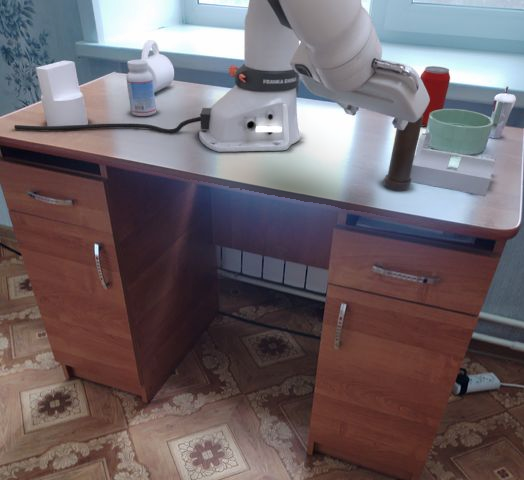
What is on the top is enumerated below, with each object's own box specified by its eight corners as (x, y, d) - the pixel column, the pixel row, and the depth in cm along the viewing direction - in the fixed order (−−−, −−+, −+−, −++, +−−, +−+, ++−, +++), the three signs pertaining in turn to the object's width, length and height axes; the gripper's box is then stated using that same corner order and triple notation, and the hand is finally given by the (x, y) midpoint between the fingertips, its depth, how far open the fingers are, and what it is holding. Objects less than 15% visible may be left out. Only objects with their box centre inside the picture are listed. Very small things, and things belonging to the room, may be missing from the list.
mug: (130, 93, 137) (124, 42, 129) (149, 85, 144) (144, 36, 136) (158, 97, 135) (153, 45, 127) (175, 88, 142) (172, 39, 134)
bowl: (445, 159, 105) (453, 129, 102) (411, 139, 115) (417, 111, 111) (497, 153, 109) (506, 124, 105) (460, 134, 118) (467, 107, 114)
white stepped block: (66, 115, 121) (54, 58, 113) (96, 121, 118) (86, 63, 110) (38, 125, 114) (23, 66, 106) (69, 132, 112) (56, 71, 104)
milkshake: (503, 133, 120) (518, 87, 113) (503, 140, 116) (519, 93, 110) (483, 130, 121) (497, 85, 114) (483, 137, 117) (497, 90, 111)
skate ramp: (403, 180, 96) (409, 153, 93) (416, 158, 105) (422, 133, 102) (485, 195, 92) (494, 168, 88) (491, 171, 101) (500, 145, 98)
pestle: (391, 192, 92) (406, 120, 84) (378, 182, 95) (391, 111, 87) (414, 189, 93) (431, 118, 85) (401, 179, 96) (415, 110, 88)
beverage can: (436, 120, 126) (449, 66, 119) (441, 128, 121) (454, 73, 114) (409, 118, 127) (420, 64, 119) (412, 126, 122) (424, 71, 114)
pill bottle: (161, 112, 124) (156, 61, 117) (144, 118, 121) (138, 65, 113) (143, 108, 127) (137, 57, 120) (125, 113, 123) (118, 61, 116)
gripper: (426, 46, 62) (446, 115, 74) (304, 23, 73) (338, 87, 85) (398, 91, 63) (422, 153, 74) (281, 62, 74) (318, 120, 85)
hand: (376, 118), depth 80 cm, fingers open, 8 cm apart
